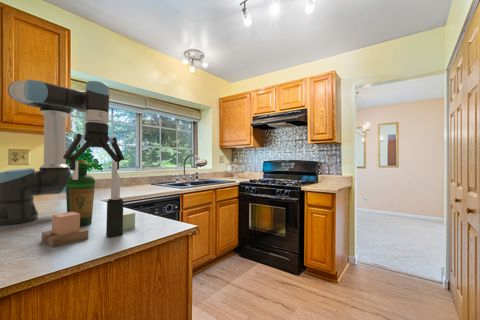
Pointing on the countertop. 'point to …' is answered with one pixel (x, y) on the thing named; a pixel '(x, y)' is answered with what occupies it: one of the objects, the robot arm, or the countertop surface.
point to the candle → (115, 209)
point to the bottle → (81, 194)
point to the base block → (64, 237)
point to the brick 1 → (65, 223)
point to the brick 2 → (128, 219)
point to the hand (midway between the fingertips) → (96, 178)
